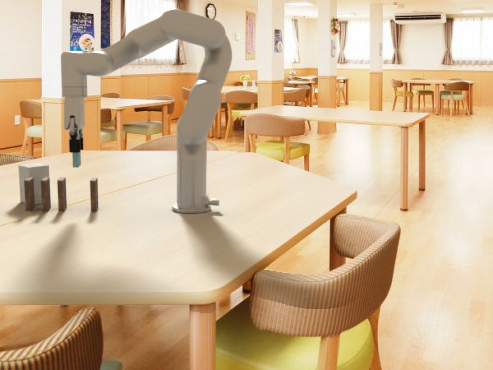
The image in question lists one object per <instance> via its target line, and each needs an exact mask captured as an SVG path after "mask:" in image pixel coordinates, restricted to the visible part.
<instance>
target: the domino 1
mask: <svg viewBox="0 0 493 370" xmlns="http://www.w3.org/2000/svg"><path fill="white" fill-rule="evenodd" d="M24 187H25V203H24V204H25V205H24V206H25V212H26V211H31V212H32V211H33V210H35V208H36V205H35V197H34V177H28V178H27V179H25V180H24Z"/></svg>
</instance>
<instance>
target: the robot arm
mask: <svg viewBox="0 0 493 370" xmlns="http://www.w3.org/2000/svg"><path fill="white" fill-rule="evenodd" d="M177 40H178V41H182V42H186V43H189V44H193V45H196V46H200V47H202V48H203V49H204V58H203V61H202V64H201V66H200V70H199V72H198V75H197V77H196V79H195V82H194V84H193V85H192V87H191V89H190V92H189V95H188V99H187V101H186V103H185V106H184V108H183V112H182V113H181V115H180V116H179V118H178V119H177V122H176V202H175V203H174V204H172V205H171V208H172V209H171V210H173V211H174V212H177V213H183V214H202V213H206V212H209V211H211V209H212V206H215V207H216V206H217V207H219V206H220V199H217V198H210V197H209V194H207V163H208V161H207V160H208V158H207V157H208V156H207V155H208V150H207V148H208V147H207V146H208V144H207V143H208V138H207V137H208V135H209V132H210V130H211V128H212V125H213V123H214V120H215V118H216V115H218V114H217V113H218V111H219V108H220V107H221V106H220V105H221V104H222V103H221V102H222V90H223V87H224V85H225V82H226V79H227V77H228V74H229V71H230V68H231V65H232V60H233V50H232V45H231V43H230V39H229V38H228V36H227V33H226V29H225V27H224V25H223V24H222V23H221V22H219V21H218V20H216V19H214V18H211V17H210V18H209V17H206V16H203V15H199V14H196V13H192V12H189V11H186V10H183V9H179V8H174V7H172V8H169V9H167V10H165V11H164V12H163V13H162V14H161V15H159V16H156V17H155V18H153V19H151V20H149V21H148V22H146V23H144V24H141V25H140V26H137V27H135V28H133V29H132V30H130V31H129V32H128V33H127V34H126V35H125V36H124V37H123V38H121V39H120V40H118V41H117V42H115V43H113V44H111V45H109V46H107V47H105V48H104V49H101V50H99V51H89V52H83V51H71V50H69V51H62V52H61V55H60V68H61V69H60V72H61V74H60V76H61V98H64V102H63V103H64V105H63V128H64V130H65V131H67V130H68V132H69V133H68V146H69V147H68V148H69V150H68V151H69V152H68V153H71V154H72V153H79V152H80V151H83V150H84V136H83V135H84V134H83V129H84V128H85V125H86V124H85V123H86V114H85V113H86V111H85V109H86V108H85V107H86V106H85V98H88V76H90V77H91V76H92V77H98V78H99V77H104V76H105V77H106V76H107V75H110V74H112V73H114V72H115V71H117V70H119V69H121V68H123V67H125V66H127V65H128V64H131V63H132V62H135V61H136V60H139V59H143V58H144V57H146V56H148V55H150V54H151V53H154V52H156V51H158V50H160V49H161V48H163V47H165V46H167V45H169V44H171V43H172V42H174V41H177ZM76 134H77V135H76ZM79 134H80V140H79Z"/></svg>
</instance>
